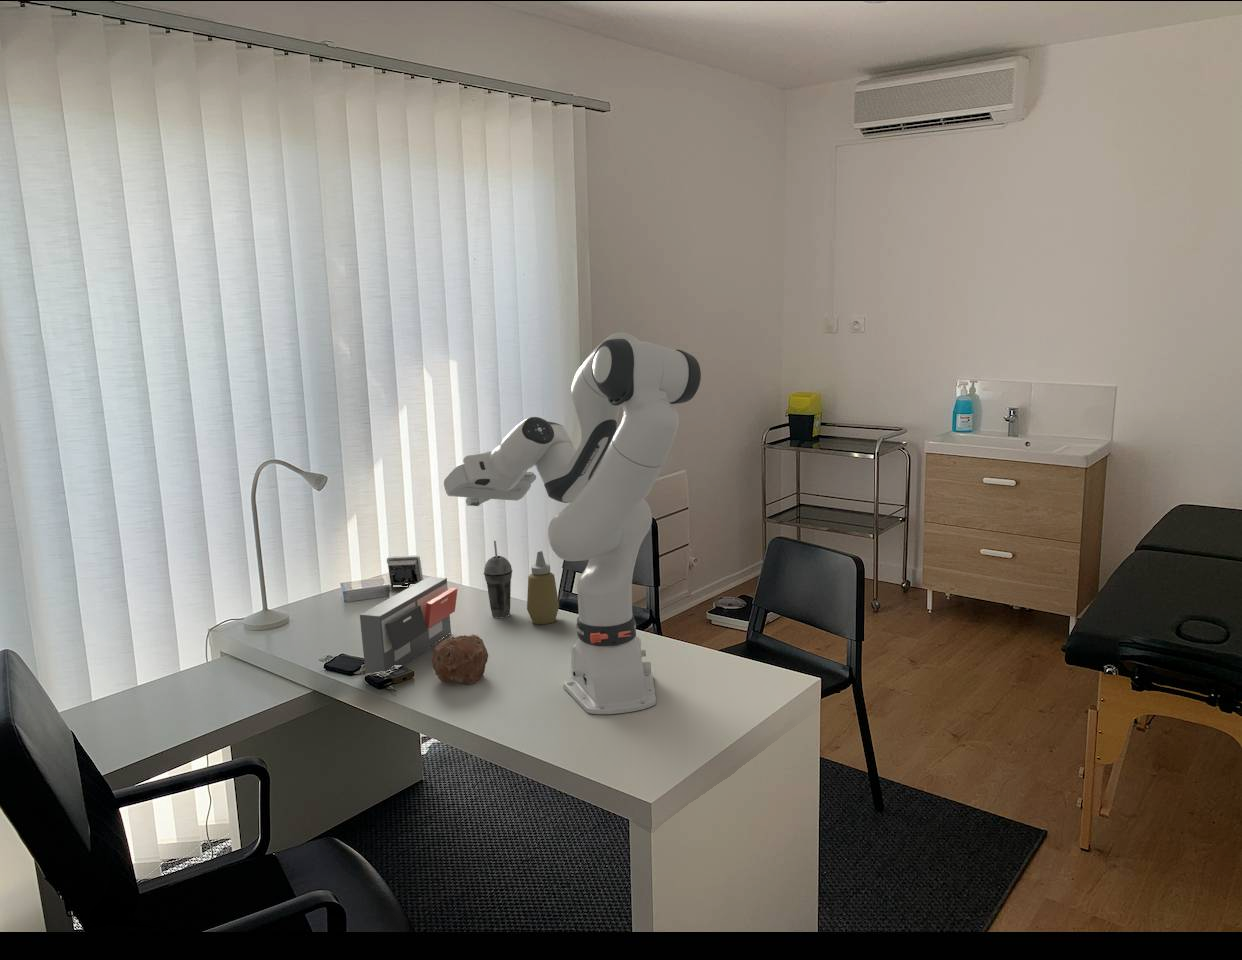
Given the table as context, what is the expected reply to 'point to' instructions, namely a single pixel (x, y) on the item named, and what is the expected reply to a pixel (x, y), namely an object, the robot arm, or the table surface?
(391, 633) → the panel
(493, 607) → the beverage cup
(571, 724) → the table surface
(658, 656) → the table surface
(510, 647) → the table surface
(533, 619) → the squeeze bottle
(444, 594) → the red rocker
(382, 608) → the switch panel
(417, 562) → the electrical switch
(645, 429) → the robot arm
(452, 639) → the decorative rock
